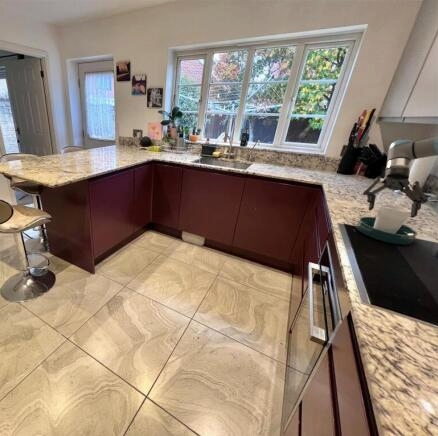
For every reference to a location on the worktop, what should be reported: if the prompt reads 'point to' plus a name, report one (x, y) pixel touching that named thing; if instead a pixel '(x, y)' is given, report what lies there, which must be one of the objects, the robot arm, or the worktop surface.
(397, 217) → the cup
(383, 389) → the worktop surface
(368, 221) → the bowl
